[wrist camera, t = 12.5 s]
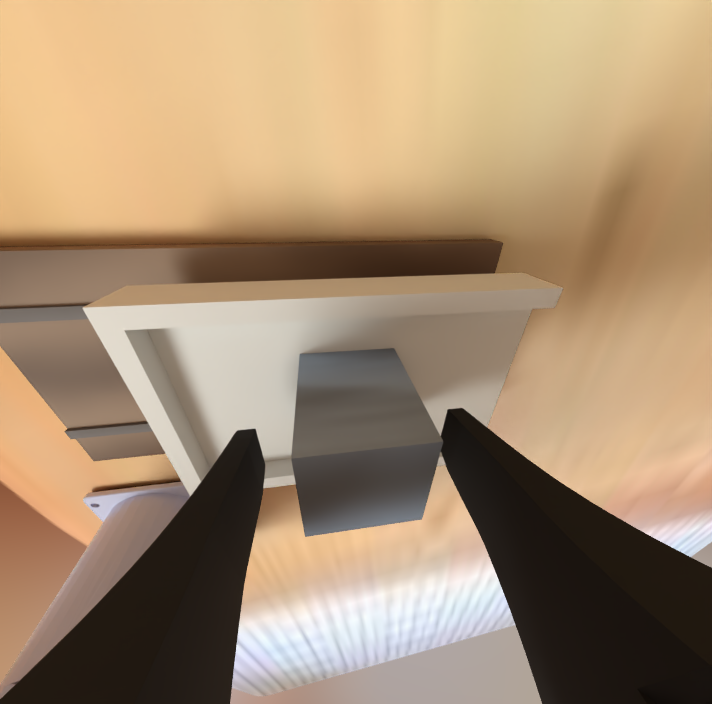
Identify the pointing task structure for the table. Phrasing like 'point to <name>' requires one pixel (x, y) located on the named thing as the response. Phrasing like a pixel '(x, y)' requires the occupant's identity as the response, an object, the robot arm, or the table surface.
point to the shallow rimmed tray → (304, 351)
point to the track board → (165, 266)
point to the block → (360, 442)
